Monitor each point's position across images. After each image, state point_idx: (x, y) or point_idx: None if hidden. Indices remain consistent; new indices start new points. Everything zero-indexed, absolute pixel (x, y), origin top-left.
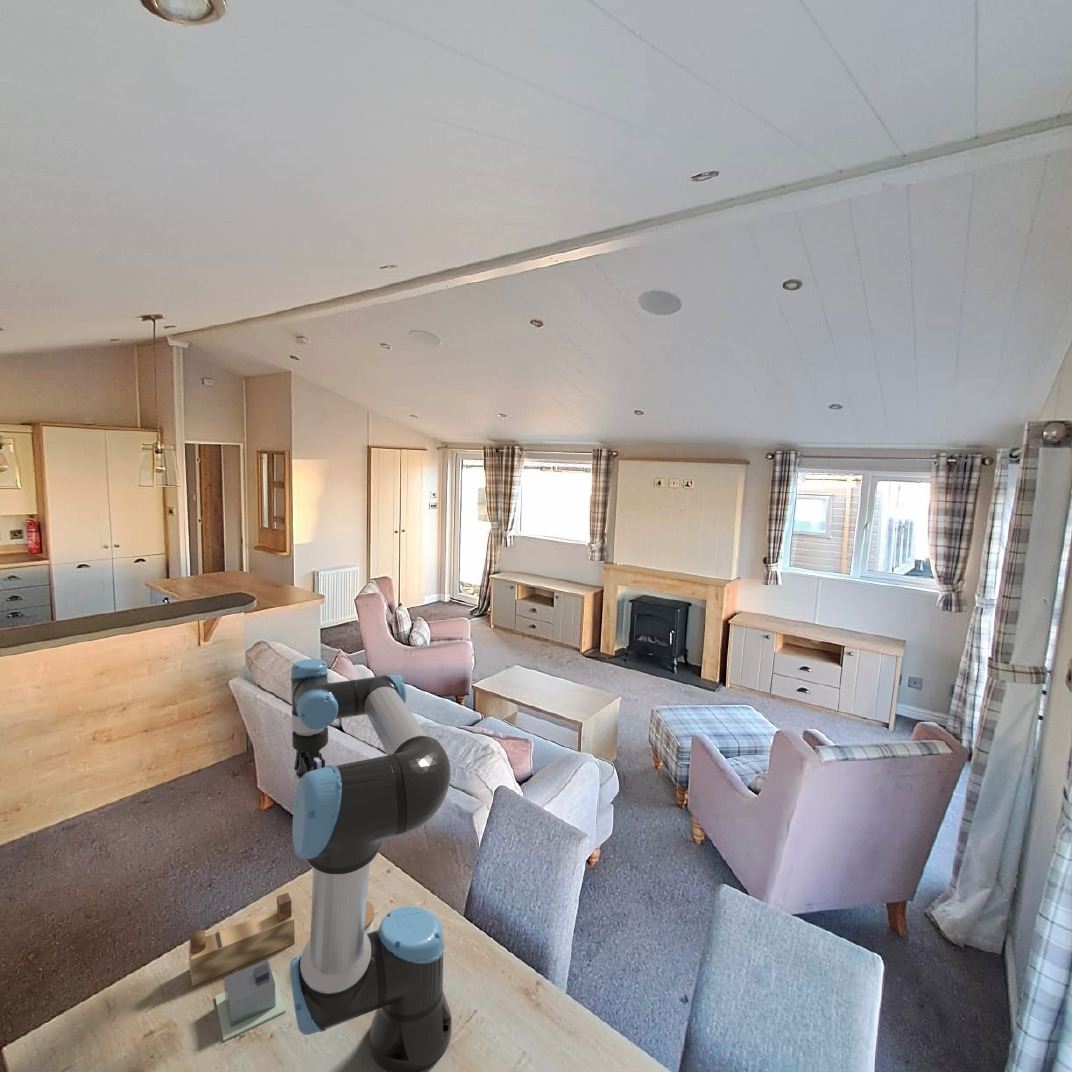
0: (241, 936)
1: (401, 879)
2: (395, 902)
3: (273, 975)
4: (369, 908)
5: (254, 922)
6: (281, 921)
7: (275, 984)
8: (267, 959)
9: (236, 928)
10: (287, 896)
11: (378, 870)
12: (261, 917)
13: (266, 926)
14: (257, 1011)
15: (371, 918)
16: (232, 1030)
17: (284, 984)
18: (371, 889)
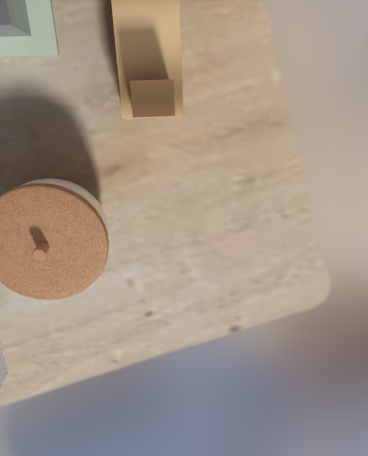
0: None
1: (198, 343)
2: (141, 319)
3: (43, 51)
4: (43, 291)
5: (162, 13)
6: (128, 86)
7: (14, 50)
8: (8, 23)
9: None
10: (156, 110)
11: (248, 313)
12: (172, 36)
13: (129, 43)
14: None
15: (9, 287)
16: None
17: (13, 71)
18: (202, 290)
